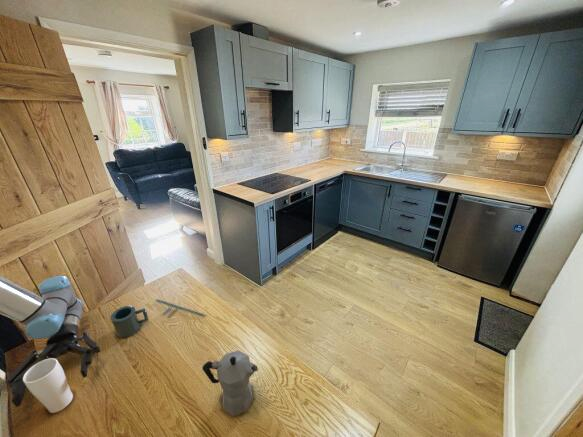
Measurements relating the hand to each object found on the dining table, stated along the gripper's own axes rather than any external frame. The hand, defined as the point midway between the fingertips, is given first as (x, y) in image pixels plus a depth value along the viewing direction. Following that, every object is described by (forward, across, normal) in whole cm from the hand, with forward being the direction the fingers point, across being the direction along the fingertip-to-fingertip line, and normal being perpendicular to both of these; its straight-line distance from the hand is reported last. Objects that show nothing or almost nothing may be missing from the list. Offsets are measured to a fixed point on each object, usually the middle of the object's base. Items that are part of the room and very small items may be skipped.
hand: (51, 387), depth 65 cm
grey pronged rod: (-7, -15, -6) cm, 18 cm away
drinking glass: (-1, 0, -8) cm, 8 cm away
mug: (-19, -19, -8) cm, 28 cm away
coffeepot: (+26, -42, -8) cm, 50 cm away
